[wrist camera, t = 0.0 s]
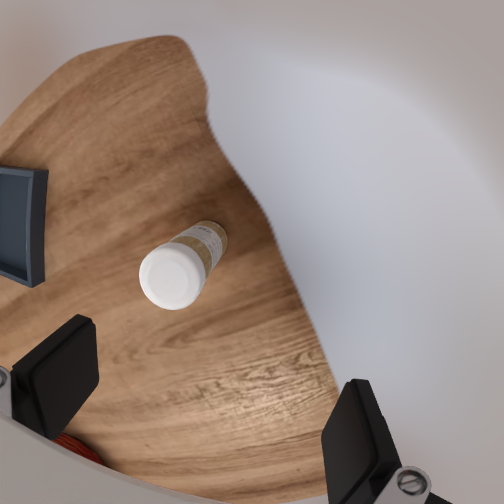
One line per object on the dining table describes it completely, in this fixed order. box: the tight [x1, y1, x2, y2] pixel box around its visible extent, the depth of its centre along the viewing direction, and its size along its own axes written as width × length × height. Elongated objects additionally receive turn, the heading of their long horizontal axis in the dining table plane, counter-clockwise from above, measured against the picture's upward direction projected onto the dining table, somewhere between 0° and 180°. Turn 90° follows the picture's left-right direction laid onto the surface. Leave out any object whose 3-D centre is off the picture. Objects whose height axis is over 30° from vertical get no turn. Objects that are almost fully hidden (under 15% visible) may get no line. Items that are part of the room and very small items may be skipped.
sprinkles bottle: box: [139, 221, 228, 310], centre depth 27 cm, size 5×5×14 cm
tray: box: [0, 165, 48, 288], centre depth 33 cm, size 16×14×3 cm
